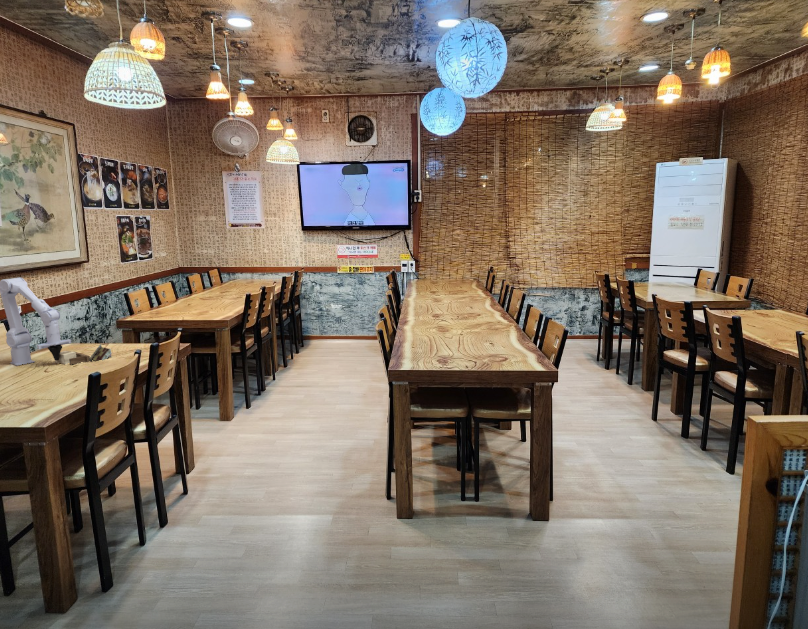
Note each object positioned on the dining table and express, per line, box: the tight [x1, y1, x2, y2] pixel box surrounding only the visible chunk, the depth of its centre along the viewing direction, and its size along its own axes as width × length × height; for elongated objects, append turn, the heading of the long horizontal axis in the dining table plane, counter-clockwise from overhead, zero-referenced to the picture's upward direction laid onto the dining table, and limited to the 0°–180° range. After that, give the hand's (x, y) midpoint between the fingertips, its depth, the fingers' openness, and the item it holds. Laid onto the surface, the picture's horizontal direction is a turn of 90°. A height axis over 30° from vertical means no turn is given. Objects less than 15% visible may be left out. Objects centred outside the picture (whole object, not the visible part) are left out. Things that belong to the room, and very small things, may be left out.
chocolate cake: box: [89, 343, 112, 362], centre depth 274 cm, size 10×7×12 cm
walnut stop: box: [69, 351, 91, 366], centre depth 270 cm, size 18×8×3 cm, turn 54°
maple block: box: [54, 350, 77, 365], centre depth 267 cm, size 8×6×5 cm
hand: (56, 359), depth 263 cm, fingers closed
